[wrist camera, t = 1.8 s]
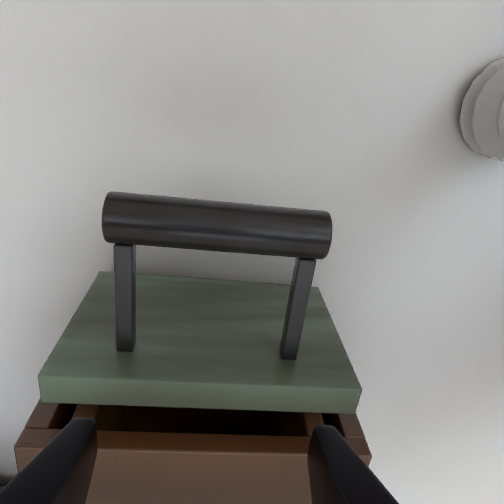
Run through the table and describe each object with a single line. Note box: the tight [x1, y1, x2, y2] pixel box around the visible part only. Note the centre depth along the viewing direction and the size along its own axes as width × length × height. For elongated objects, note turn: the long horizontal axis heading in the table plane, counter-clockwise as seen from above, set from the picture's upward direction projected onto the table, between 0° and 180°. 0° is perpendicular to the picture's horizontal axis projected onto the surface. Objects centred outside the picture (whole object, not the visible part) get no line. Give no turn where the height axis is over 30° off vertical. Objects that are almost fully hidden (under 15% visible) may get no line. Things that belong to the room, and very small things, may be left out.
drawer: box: [38, 191, 362, 437], centre depth 18 cm, size 19×11×7 cm, turn 173°
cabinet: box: [14, 398, 372, 504], centre depth 21 cm, size 15×12×9 cm
